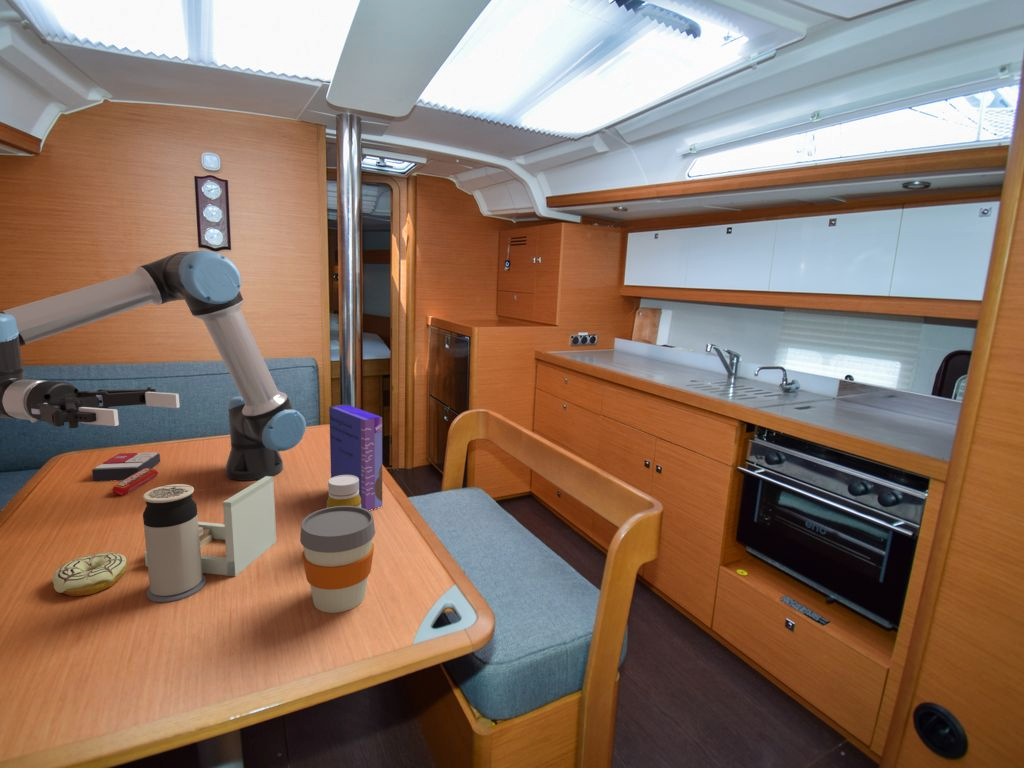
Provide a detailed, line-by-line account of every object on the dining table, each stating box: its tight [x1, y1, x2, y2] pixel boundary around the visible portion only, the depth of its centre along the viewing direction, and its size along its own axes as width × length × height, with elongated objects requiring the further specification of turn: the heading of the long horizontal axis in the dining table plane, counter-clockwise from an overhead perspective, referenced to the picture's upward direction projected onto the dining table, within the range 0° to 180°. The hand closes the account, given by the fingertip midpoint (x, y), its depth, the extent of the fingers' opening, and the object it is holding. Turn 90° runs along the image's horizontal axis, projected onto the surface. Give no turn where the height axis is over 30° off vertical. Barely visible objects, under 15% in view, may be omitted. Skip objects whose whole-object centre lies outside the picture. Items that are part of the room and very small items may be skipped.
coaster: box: [146, 573, 206, 603], centre depth 93 cm, size 9×9×1 cm
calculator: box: [91, 451, 161, 482], centre depth 146 cm, size 11×4×15 cm
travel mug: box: [142, 483, 203, 596], centre depth 91 cm, size 8×8×18 cm
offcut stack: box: [199, 527, 213, 549], centre depth 105 cm, size 7×10×4 cm, turn 173°
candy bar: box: [110, 468, 159, 496], centre depth 136 cm, size 16×4×3 cm, turn 5°
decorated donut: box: [51, 552, 128, 597], centre depth 93 cm, size 10×11×4 cm
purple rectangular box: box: [328, 403, 383, 511], centre depth 132 cm, size 17×5×24 cm, turn 47°
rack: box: [143, 476, 277, 577], centre depth 103 cm, size 19×14×15 cm
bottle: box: [326, 475, 361, 508], centre depth 109 cm, size 7×7×15 cm
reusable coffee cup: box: [299, 506, 376, 614], centre depth 91 cm, size 13×13×15 cm
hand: (149, 408), depth 92 cm, fingers open, 13 cm apart
